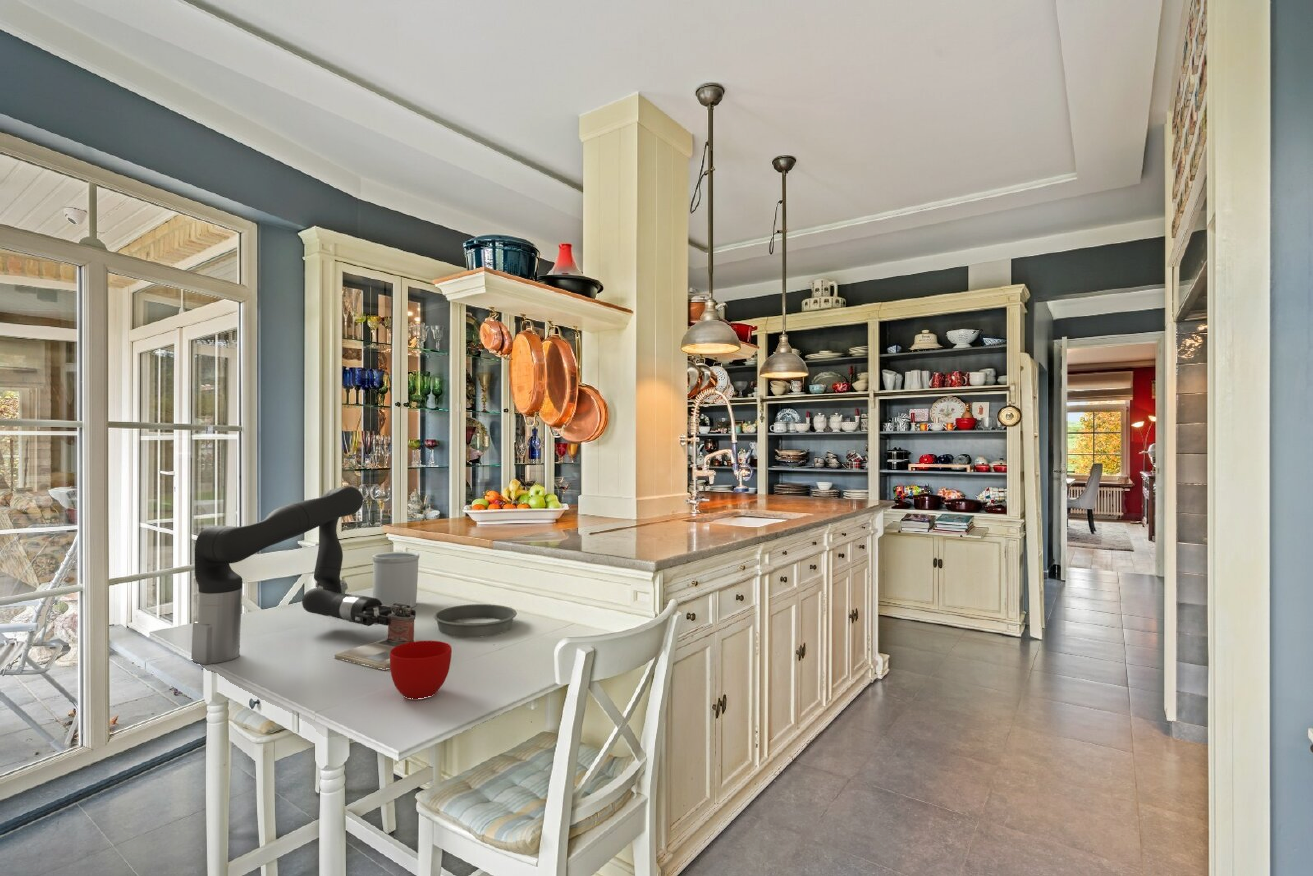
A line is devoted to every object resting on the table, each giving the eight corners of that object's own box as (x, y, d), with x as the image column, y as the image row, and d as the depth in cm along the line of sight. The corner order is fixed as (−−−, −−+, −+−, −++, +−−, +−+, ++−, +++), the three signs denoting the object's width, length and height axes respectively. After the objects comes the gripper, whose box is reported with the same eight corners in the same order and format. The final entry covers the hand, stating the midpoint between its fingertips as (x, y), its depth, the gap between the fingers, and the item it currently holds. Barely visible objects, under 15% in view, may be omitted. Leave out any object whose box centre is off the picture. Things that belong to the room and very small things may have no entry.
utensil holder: (365, 604, 218) (366, 553, 218) (409, 598, 228) (410, 549, 228) (378, 613, 207) (380, 559, 207) (424, 607, 216) (426, 555, 217)
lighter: (417, 643, 174) (418, 606, 174) (408, 646, 171) (410, 609, 171) (392, 639, 176) (394, 603, 176) (384, 643, 173) (385, 606, 173)
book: (384, 671, 156) (384, 665, 156) (334, 658, 164) (334, 653, 164) (439, 650, 172) (439, 646, 172) (391, 640, 180) (391, 635, 180)
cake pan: (532, 629, 196) (532, 614, 196) (459, 645, 178) (459, 629, 178) (488, 613, 213) (489, 599, 213) (418, 626, 195) (418, 611, 195)
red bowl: (434, 674, 154) (435, 633, 154) (458, 698, 141) (460, 652, 141) (377, 685, 146) (378, 641, 147) (397, 711, 133) (398, 662, 133)
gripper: (339, 601, 174) (381, 609, 167) (382, 591, 187) (423, 598, 180) (338, 629, 174) (380, 638, 167) (381, 617, 187) (422, 625, 180)
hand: (402, 617), depth 173 cm, fingers open, 8 cm apart
